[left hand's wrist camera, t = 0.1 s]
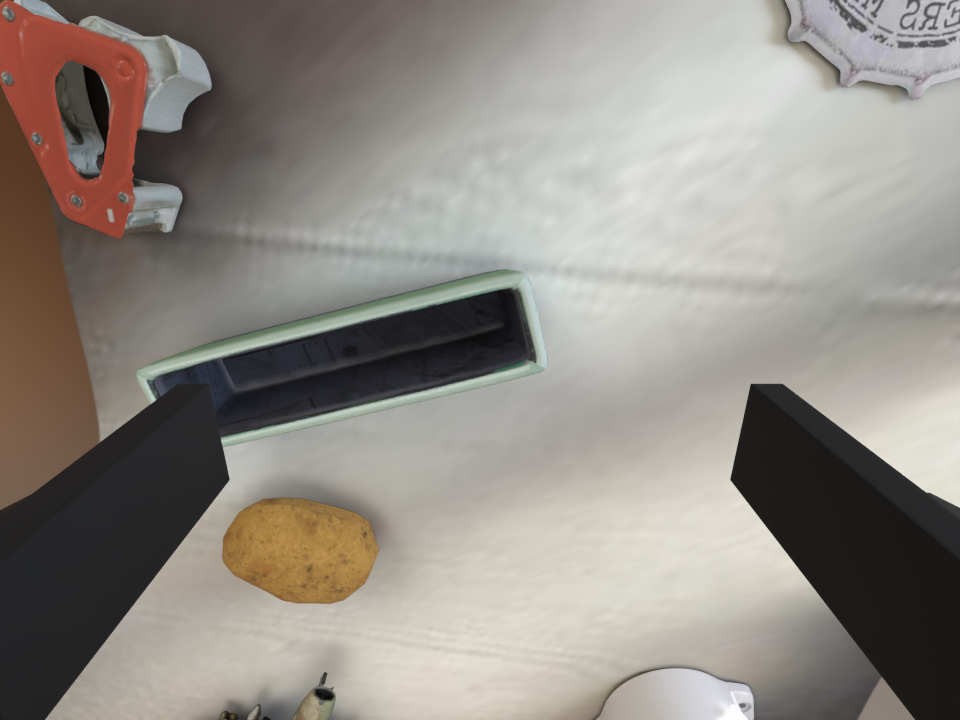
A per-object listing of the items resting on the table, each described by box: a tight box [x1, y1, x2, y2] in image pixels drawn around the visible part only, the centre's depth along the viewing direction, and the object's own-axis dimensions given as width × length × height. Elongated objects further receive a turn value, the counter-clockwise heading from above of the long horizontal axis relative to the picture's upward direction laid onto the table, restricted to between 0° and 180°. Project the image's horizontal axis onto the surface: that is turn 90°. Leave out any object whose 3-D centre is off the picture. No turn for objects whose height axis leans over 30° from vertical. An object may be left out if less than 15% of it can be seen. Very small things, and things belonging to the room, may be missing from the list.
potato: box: [222, 498, 379, 604], centre depth 45 cm, size 9×13×7 cm
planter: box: [136, 270, 548, 447], centre depth 38 cm, size 28×7×7 cm, turn 104°
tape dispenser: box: [0, 0, 211, 239], centre depth 32 cm, size 18×5×20 cm
